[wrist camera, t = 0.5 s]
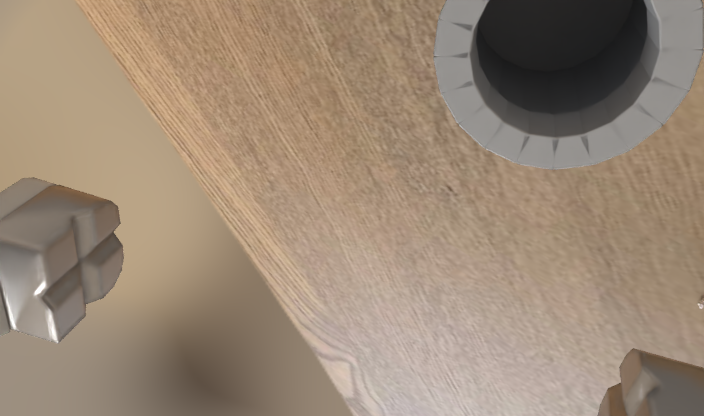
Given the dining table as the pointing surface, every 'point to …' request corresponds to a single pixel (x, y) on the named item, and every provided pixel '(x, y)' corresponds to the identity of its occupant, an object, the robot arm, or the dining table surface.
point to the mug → (701, 305)
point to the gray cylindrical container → (566, 73)
